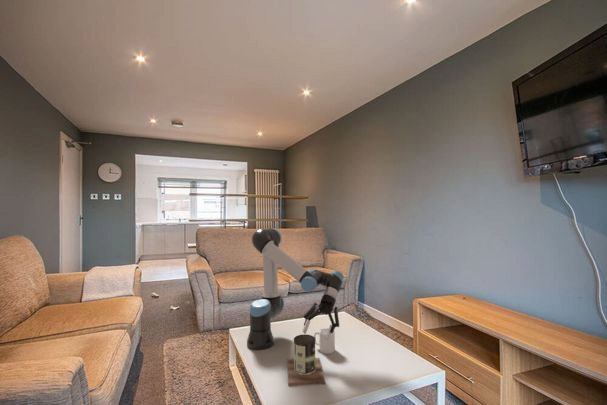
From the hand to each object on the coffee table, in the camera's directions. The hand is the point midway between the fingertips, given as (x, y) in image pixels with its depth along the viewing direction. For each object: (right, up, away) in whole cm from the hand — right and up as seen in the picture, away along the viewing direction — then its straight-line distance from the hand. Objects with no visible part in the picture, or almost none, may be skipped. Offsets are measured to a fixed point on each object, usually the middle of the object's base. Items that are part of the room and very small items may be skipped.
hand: (315, 335), depth 146 cm
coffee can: (-5, -12, -8) cm, 16 cm away
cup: (+5, -14, +13) cm, 20 cm away
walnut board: (-5, -13, -9) cm, 16 cm away
